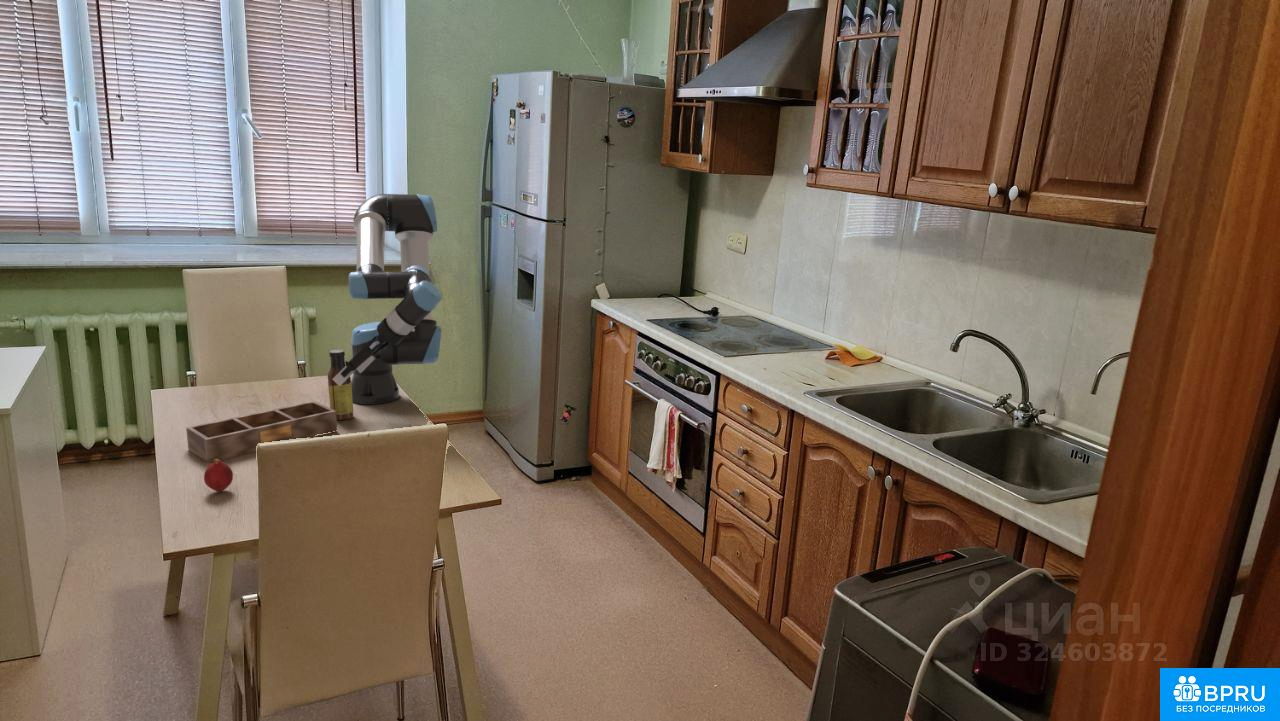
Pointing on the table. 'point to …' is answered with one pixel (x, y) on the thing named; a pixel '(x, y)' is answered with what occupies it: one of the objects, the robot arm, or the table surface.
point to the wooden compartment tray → (259, 430)
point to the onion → (218, 476)
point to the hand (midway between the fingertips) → (347, 375)
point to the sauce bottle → (339, 388)
